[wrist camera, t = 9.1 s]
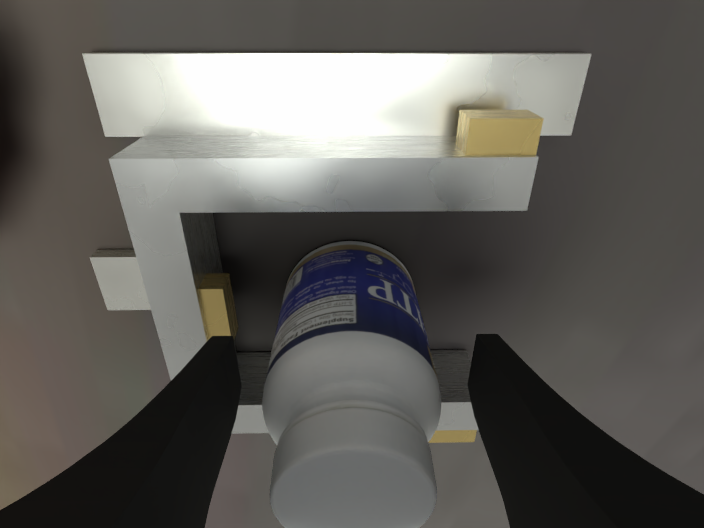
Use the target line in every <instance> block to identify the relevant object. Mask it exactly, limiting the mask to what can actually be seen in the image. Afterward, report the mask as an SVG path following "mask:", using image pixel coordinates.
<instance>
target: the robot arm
mask: <svg viewBox="0 0 704 528" xmlns="http://www.w3.org/2000/svg"><path fill="white" fill-rule="evenodd" d="M467 385H468V390H469V395H470V400H471V405H472V409H473V413H474V417H475V420H476V423H477V426H478V429H479V432H480V435H481V438H482V441H483V443H484V446H485V449H486V452H487V455H488V457H489V460H490V463H491V466H492V469H493V471H494V474H495V477H496V480H497V483H498V486H499V488H500V492H501V495H502V498H503V501H504V505H505V509H506V513H507V517H508V521H509V525H510V528H704V494H702V493H700V492H698V491H696V490H695V489H693V488H691V487H689V486H688V485H686V484H684V483H682V482H681V481H679V480H677V479H675V478H674V477H672V476H670V475H668V474H667V473H665V472H664V471H662V470H660V469H659V468H657V467H655V466H654V465H652V464H651V463H649V462H647V461H646V460H644V459H643V458H641V457H640V456H638V455H637V454H635V453H634V452H632V451H631V450H629V449H628V448H626V447H625V446H623V445H622V444H620V443H619V442H618V441H616V440H615V439H613V438H612V437H611V436H609V435H608V434H606V433H605V432H604V431H603V430H601V429H600V428H599V427H597V426H596V425H595V424H593V423H592V422H591V421H589V420H588V419H587V418H586V417H584V416H583V415H582V414H581V413H579V412H578V411H577V410H576V409H575V408H573V407H572V406H571V405H570V404H569V403H568V402H566V401H565V400H564V399H563V398H562V397H561V396H559V395H558V394H557V393H556V392H555V391H554V390H553V389H552V388H551V387H550V386H549V385H547V384H546V383H545V382H544V381H543V380H542V379H541V378H540V377H539V376H538V375H537V374H536V373H535V372H534V371H533V370H532V369H531V368H530V367H529V366H528V365H527V364H526V363H525V362H524V361H523V360H522V359H521V358H520V357H519V356H518V355H517V354H516V353H515V352H514V351H513V350H512V349H511V348H510V347H509V346H508V345H507V344H506V342H505V341H504V340H503V339H502V338H501V337H500V336H499V335H498V334H477V335H476V340H475V346H474V351H473V356H472V362H471V367H470V373H469V378H468V383H467ZM241 388H242V385H241V379H240V373H239V367H238V362H237V356H236V350H235V344H234V338H233V336H212V337H211V338H210V339H209V340H208V341H207V342H206V343H205V344H204V345H203V346H202V347H201V349H200V350H199V351H198V352H197V353H196V354H195V355H194V357H193V358H192V359H191V360H190V361H189V362H188V363H187V364H186V365H185V367H184V368H183V369H182V370H181V371H180V372H179V373H178V374H177V375H176V376H175V377H174V378H173V379H172V380H171V382H170V383H169V384H168V385H167V386H166V387H165V388H164V389H163V390H162V391H161V392H160V393H159V394H158V395H157V396H156V397H155V398H154V399H153V400H152V401H151V402H149V403H148V404H147V405H146V406H145V407H144V408H143V409H142V410H141V411H140V412H139V413H138V414H137V415H136V416H135V417H133V418H132V419H131V420H130V421H129V422H128V423H127V424H125V425H124V426H123V427H122V428H121V429H120V430H118V431H117V432H116V433H115V434H114V435H112V436H111V437H110V438H109V439H107V440H106V441H105V442H103V443H102V444H101V445H99V446H98V447H97V448H95V449H94V450H93V451H91V452H90V453H88V454H87V455H86V456H84V457H83V458H82V459H80V460H79V461H78V462H76V463H75V464H73V465H72V466H71V467H69V468H68V469H66V470H65V471H63V472H62V473H60V474H59V475H57V476H56V477H54V478H53V479H51V480H50V481H48V482H47V483H45V484H43V485H42V486H40V487H39V488H37V489H35V490H34V491H32V492H31V493H29V494H27V495H26V496H24V497H22V498H21V499H19V500H17V501H16V502H14V503H12V504H10V505H9V506H7V507H5V508H3V509H2V510H0V528H205V523H206V518H207V514H208V509H209V505H210V501H211V498H212V494H213V490H214V487H215V484H216V481H217V478H218V474H219V471H220V468H221V465H222V462H223V459H224V455H225V452H226V449H227V446H228V443H229V439H230V436H231V433H232V430H233V427H234V423H235V420H236V415H237V410H238V405H239V399H240V394H241Z"/></svg>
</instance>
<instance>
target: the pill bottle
mask: <svg viewBox="0 0 704 528" xmlns="http://www.w3.org/2000/svg"><path fill="white" fill-rule="evenodd" d="M262 410H263V416H264V421H265V424H266V427H267V429H268V432H269V434H270V436H271V437H272V439H273V440H274V442H275V443H276V445H277V448H276V451H275V454H274V461H273V470H272V478H271V486H270V504H271V508H272V511H273V513H274V515H275V517H276V518H277V519H278V520H279V522H280V523H281V524H282V525H283V526H284V527H285V528H419V527H420V526H422V525H423V524H424V523H425V522H426V521H427V519H428V518H429V517H430V515H431V514H432V512H433V510H434V508H435V505H436V501H437V487H436V480H435V475H434V469H433V462H432V456H431V450H430V447H429V444H428V442H429V441H430V440H431V438H432V436H433V435H434V433H435V431H436V429H437V426H438V423H439V419H440V414H441V394H440V387H439V382H438V378H437V374H436V370H435V366H434V363H433V359H432V355H431V350H430V347H429V342H428V338H427V334H426V331H425V327H424V323H423V320H422V316H421V312H420V308H419V304H418V301H417V297H416V292H415V289H414V285H413V282H412V279H411V277H410V274H409V273H408V271H407V269H406V268H405V266H404V265H403V264H402V263H401V262H400V261H399V260H398V259H397V258H396V257H395V256H394V255H393V254H391V253H390V252H388V251H386V250H384V249H383V248H380V247H378V246H376V245H373V244H369V243H365V242H359V241H341V242H335V243H331V244H327V245H324V246H322V247H320V248H317V249H315V250H314V251H312V252H310V253H309V254H307V255H306V256H305V257H304V258H303V259H302V260H301V261H300V262H299V263H298V264H297V265H296V266H295V268H294V269H293V271H292V272H291V274H290V276H289V278H288V281H287V284H286V288H285V292H284V296H283V301H282V306H281V311H280V316H279V320H278V325H277V329H276V334H275V339H274V343H273V347H272V352H271V357H270V362H269V366H268V371H267V375H266V379H265V385H264V389H263V398H262Z"/></svg>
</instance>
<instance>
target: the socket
mask: <svg viewBox="0 0 704 528" xmlns="http://www.w3.org/2000/svg"><path fill="white" fill-rule="evenodd" d="M82 55H83V58H84V62H85V65H86V69H87V73H88V76H89V80H90V83H91V87H92V90H93V94H94V98H95V101H96V105H97V108H98V112H99V116H100V119H101V123H102V126H103V130H104V134H105V137H142V138H140V139H139V140H137V141H136V142H134V143H133V144H131V145H129V146H128V147H126V148H125V149H123V150H122V151H120V152H119V153H117V154H115V155H114V156H112V157H111V158H109V162H110V165H111V169H112V173H113V176H114V180H115V183H116V187H117V190H118V194H119V197H120V201H121V205H122V208H123V212H124V215H125V219H126V222H127V226H128V229H129V233H130V236H131V240H132V244H133V247H134V249H125V250H97V251H96V252H95V253H94V254H93V255H92V256H91V257H90V260H91V263H92V266H93V269H94V272H95V275H96V277H97V280H98V283H99V286H100V289H101V292H102V295H103V298H104V301H105V304H106V307H107V310H151V311H152V315H153V318H154V322H155V325H156V329H157V332H158V336H159V340H160V343H161V347H162V350H163V354H164V357H165V361H166V364H167V368H168V372H169V375H170V379H171V380H172V379H173V378H174V377H175V376H176V375H177V374H178V373H179V372H180V371H181V370H182V369H183V368H184V367H185V365H186V364H187V363H188V362H189V361H190V360H191V359H192V358H193V357H194V355H195V354H196V353H197V352H198V351H199V350H200V349H201V347H202V346H203V345H204V344H205V343H206V342H207V341H208V340H209V339H210V338H211V337H212V336H233V338H234V339H235V336H236V333H237V330H238V323H237V317H236V311H235V305H234V298H233V292H232V286H231V280H230V274H229V273H223V270H222V264H221V258H220V252H219V247H218V241H217V235H216V229H215V223H214V217H213V213H218V212H391V211H527V208H528V204H529V199H530V194H531V190H532V185H533V181H534V176H535V172H536V167H537V162H538V158H539V157H538V156H536V152H537V148H538V143H539V138H540V136H564V135H571V134H572V130H573V126H574V122H575V118H576V114H577V110H578V106H579V102H580V98H581V94H582V90H583V86H584V82H585V78H586V74H587V70H588V66H589V62H590V58H591V54H589V53H584V52H89V53H83V54H82ZM234 344H235V340H234ZM235 350H236V346H235ZM431 355H432V359H433V363H434V366H435V370H436V374H437V378H438V382H439V387H440V394H441V414H440V419H439V423H438V426H437V429H436V431H435V433H434V435H433V436H432V438H431V440H430V441H429V442H428V443H438V442H474V441H475V436H476V431H477V430H479V429H478V426H477V423H476V420H475V417H474V413H473V409H472V405H471V400H470V395H469V390H468V385H467V383H468V378H469V373H470V367H471V362H470V359H469V356H468V354H467V351H466V350H431ZM236 356H237V362H238V367H239V373H240V379H241V385H242V388H241V394H240V399H239V405H238V410H237V415H236V420H235V423H234V427H233V430H232V433H269V432H268V429H267V427H266V424H265V421H264V416H263V410H262V398H263V389H264V385H265V379H266V375H267V371H268V366H269V362H270V357H271V352H238V353H237V352H236Z"/></svg>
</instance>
